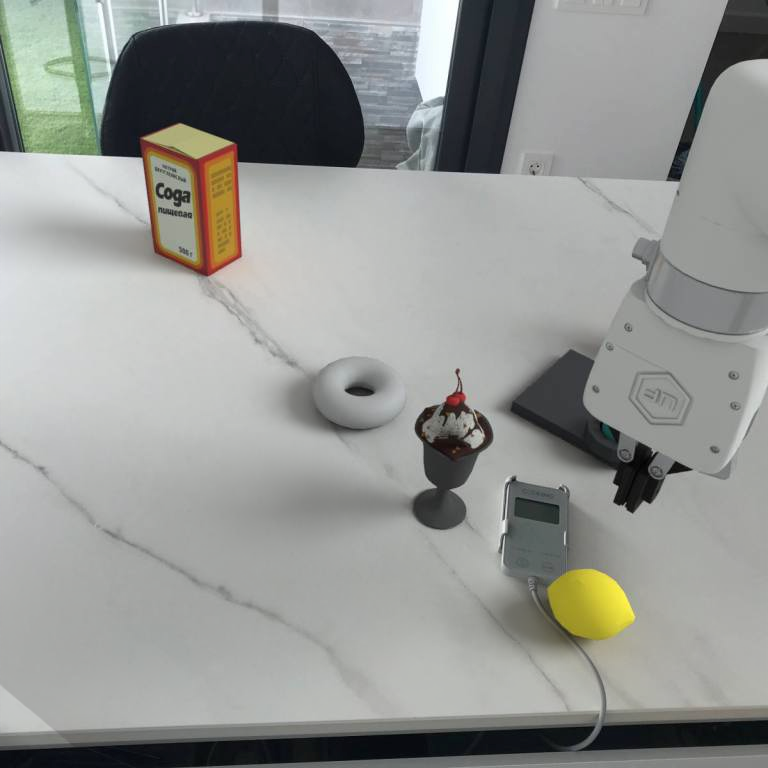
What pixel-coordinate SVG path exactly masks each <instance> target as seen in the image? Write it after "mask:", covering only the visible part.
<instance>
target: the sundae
mask: <svg viewBox="0 0 768 768" xmlns="http://www.w3.org/2000/svg"><path fill="white" fill-rule="evenodd" d="M454 373H455V375H456V377H457V387H456V389H455V390H454V392H453V393H452V394H449V395H447V396H446V398H445V401H443V402H442V403H441V404H433V405H431V406H426V407H424V408H423V410H422V411H421V412H420V414H419V415H418V417H417V418H416V420H415V423H414V433H415V435H416V436H417V438H418V439H419V440H420V441H421V442H422V447H423V448H422V450H423V451H422V454H423V456H422V457H423V460H422V461H423V462H422V463H423V470H424V475H425V477H426V479H427V480H428V481H429V482H430V483H431V484H432V485H433V486H435V487H432V488H431V487H430V488H428V489H425V490H423V491H421V492H420V493H419V494H417V496H416V497H415V499H414V501H413V512H414V513H415V516H416V517H417V518H418V520H419V521H420V522H422V523H423V524H424V525H427V526H428V527H431V528H434V529H439V530H447V529H451V528H455V527H457V526H459V525H460V524H461V523H463V521H464V520H465V518H466V516H467V506H466V504H465V501H464V500H463V499H462V497H460V496H459V495H458V494H456V492H454V491H452V490H455V489H458V488H460V487H462V486H464V485H465V484H466V482H467V481H468V479H469V477H470V476H471V474H472V472H473V470H474V467H475V466H476V462H477V459H478V457H479V455H480V454H481V453H483V452H484V451H486V450H487V449H488V448H489V447H491V445H492V444H493V442H494V430H493V427H492V424H491V423H490V421H489V420H488V418H487V417H486V416H485V415H484V414H483V413H481V412H480V411H478V410H476V409H474V408H473V406H471V404H469V403H468V402H467V401H466V399H467V396H466V394H465V393H464V392H463V382H462V380H461V377H460V375H459V374H460V373H461V370H460V368H456V369H455V372H454ZM459 388H460V389H459Z"/></svg>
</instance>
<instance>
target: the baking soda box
mask: <svg viewBox="0 0 768 768" xmlns="http://www.w3.org/2000/svg"><path fill="white" fill-rule="evenodd" d="M139 143H140V152H141V158H142V166H143V173H144V182H145V190H146V191H145V192H146V198H147V204H148V213H149V221H150V229H151V237H152V245H153V252H154V253H155V254H158V255H159V256H161V257H164V258H166V259H168V260H171V261H173V262H174V263H177V264H179V265H182V266H184V267H185V268H188V269H190V270H192V271H195V272H196V273H199V274H201V275H204V276H205V277H210V276H212V275H213V274H215V273H217V272H218V271H221V270H222V269H224V268H225V267H227V266H228V265H230V264H233V263H234V262H235V261H237V260H239V259H241V258H242V257H243V251H242V248H243V247H242V229H241V207H240V182H239V163H238V162H239V161H238V160H239V159H238V144H237V143H236V142H234V141H230V140H228V139H225V138H222V137H219V136H216V135H214V134H211V133H208V132H205V131H203V130H200V129H197V128H195V127H192V126H189V125H187V124H184V123H181V122H178V123H175V124H172V125H169V126H167V127H164V128H162V129H159V130H157V131H153V132H151V133H148V134H146V135H144V136H143V135H142V136H141V137H139Z"/></svg>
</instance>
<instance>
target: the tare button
mask: <svg viewBox="0 0 768 768" xmlns="http://www.w3.org/2000/svg"><path fill="white" fill-rule="evenodd" d="M602 432H603V434H604V435H605V436H606V437H607V438H609V439H610V440H612V441H614V442H616V441H615V439H614V437H613V435H612V433H611V432H610V430H609V428H608V426H607V424H605V423H603V426H602Z"/></svg>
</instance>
